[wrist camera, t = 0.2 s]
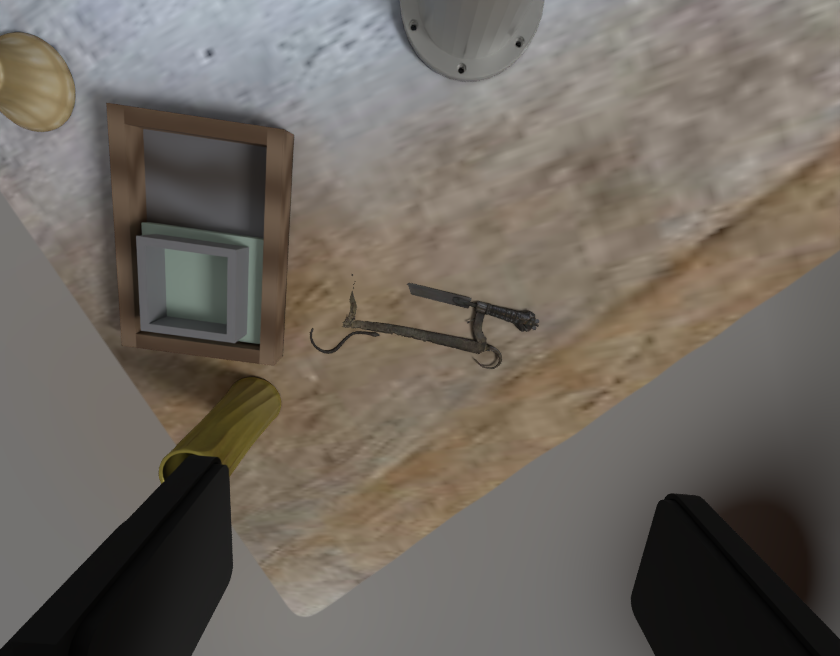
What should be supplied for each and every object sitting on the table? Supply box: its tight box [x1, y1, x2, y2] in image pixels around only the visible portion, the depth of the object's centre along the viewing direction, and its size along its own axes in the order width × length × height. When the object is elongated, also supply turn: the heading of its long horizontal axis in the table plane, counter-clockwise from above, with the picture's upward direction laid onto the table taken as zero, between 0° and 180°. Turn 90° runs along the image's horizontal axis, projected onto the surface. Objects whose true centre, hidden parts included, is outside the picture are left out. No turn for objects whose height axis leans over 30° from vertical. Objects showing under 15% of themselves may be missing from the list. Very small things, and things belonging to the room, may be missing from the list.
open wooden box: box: [106, 103, 294, 366], centre depth 42 cm, size 23×16×3 cm
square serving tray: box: [136, 222, 264, 344], centre depth 42 cm, size 11×12×4 cm
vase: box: [159, 377, 281, 484], centre depth 42 cm, size 6×6×14 cm
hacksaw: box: [310, 274, 539, 369], centre depth 46 cm, size 24×10×2 cm, turn 76°
